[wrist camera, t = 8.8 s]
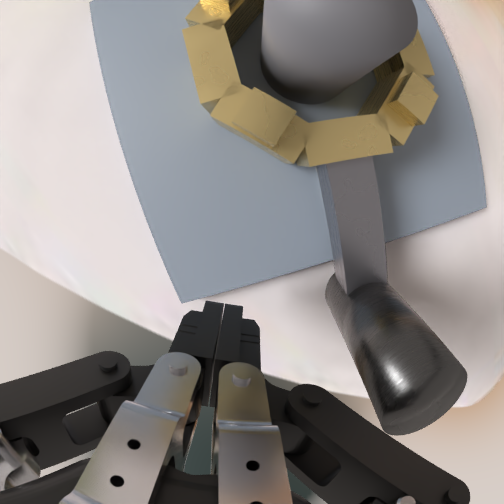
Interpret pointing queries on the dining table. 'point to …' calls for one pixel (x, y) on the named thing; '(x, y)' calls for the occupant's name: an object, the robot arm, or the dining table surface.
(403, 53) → the ring with upright handle
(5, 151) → the dining table surface
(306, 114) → the hub board
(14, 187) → the dining table surface
